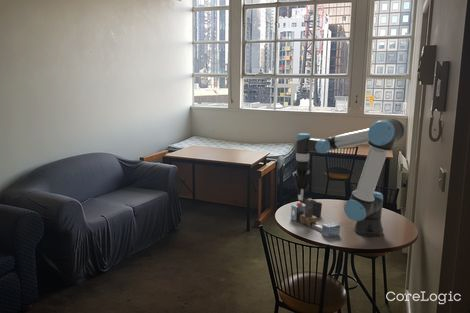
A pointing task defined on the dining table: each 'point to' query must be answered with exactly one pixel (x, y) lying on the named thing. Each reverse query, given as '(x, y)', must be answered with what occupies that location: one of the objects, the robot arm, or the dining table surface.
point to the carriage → (308, 213)
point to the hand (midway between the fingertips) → (300, 199)
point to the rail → (326, 229)
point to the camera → (314, 207)
